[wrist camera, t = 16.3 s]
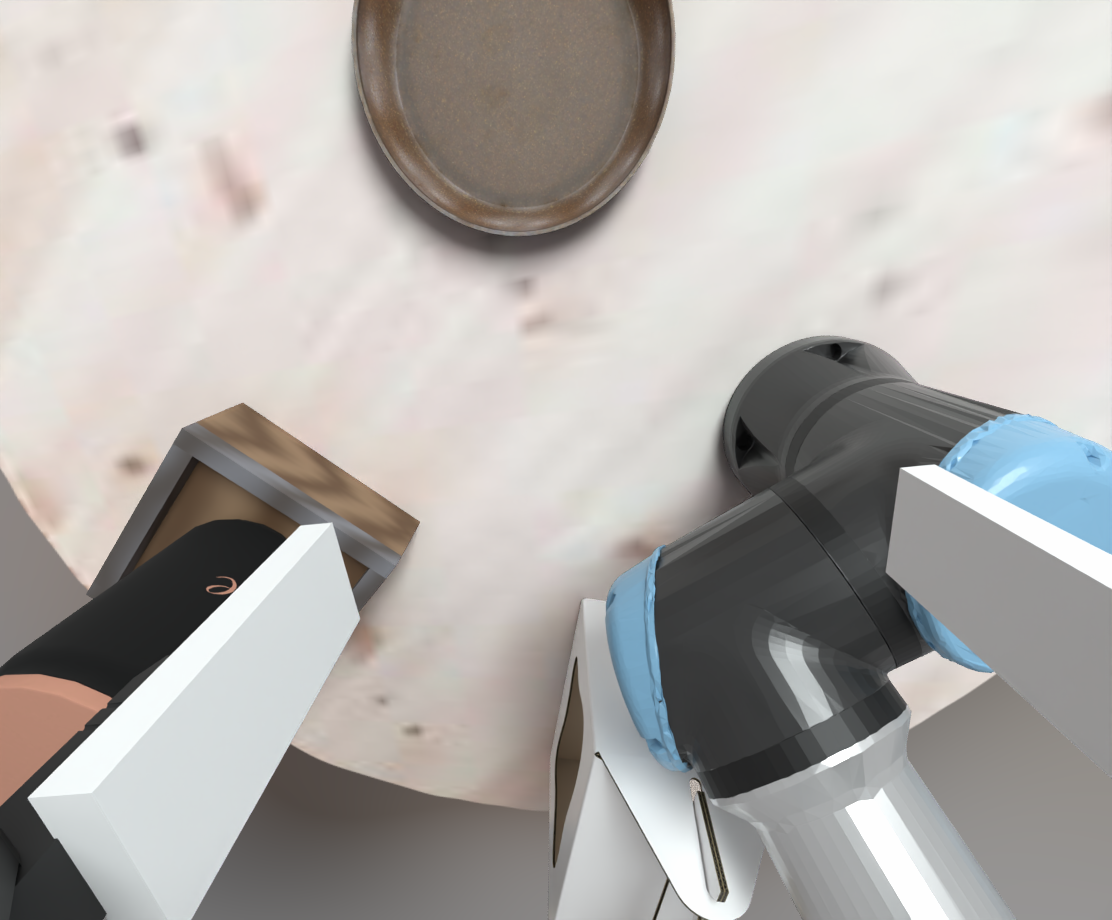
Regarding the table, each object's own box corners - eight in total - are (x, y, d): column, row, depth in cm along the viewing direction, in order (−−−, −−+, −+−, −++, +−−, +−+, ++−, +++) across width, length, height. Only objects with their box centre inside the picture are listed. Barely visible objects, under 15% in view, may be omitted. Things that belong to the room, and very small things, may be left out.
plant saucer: (386, 239, 39) (371, 236, 36) (347, -120, 32) (324, -162, 29) (655, 237, 39) (663, 235, 36) (676, -122, 32) (689, -164, 29)
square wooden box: (420, 521, 47) (396, 565, 40) (321, 644, 52) (285, 702, 45) (242, 402, 43) (182, 428, 36) (154, 547, 48) (86, 594, 41)
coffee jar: (318, 629, 44) (170, 851, 27) (191, 616, 44) (-38, 834, 27) (313, 520, 40) (140, 698, 24) (175, 504, 40) (-102, 675, 23)
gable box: (582, 594, 50) (611, 950, 24) (713, 610, 51) (881, 974, 25) (549, 758, 58) (544, 1164, 31) (663, 771, 58) (751, 1179, 32)
